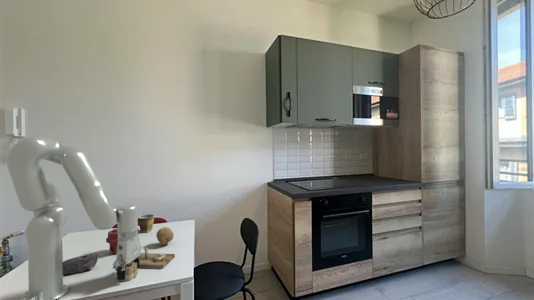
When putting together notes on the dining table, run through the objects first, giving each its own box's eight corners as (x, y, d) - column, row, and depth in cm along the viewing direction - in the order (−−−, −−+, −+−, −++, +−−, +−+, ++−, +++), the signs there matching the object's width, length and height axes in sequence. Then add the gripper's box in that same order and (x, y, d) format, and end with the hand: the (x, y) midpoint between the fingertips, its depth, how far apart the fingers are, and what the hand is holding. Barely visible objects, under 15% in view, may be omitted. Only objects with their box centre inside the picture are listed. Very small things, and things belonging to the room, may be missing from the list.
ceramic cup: (157, 230, 164) (157, 215, 164) (143, 234, 155) (143, 219, 155) (146, 227, 170) (146, 213, 170) (132, 231, 162) (132, 216, 162)
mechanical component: (132, 248, 134) (117, 257, 124) (116, 247, 136) (101, 255, 126) (132, 226, 133) (117, 233, 124) (116, 225, 135) (101, 231, 126)
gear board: (163, 268, 111) (163, 253, 111) (115, 267, 113) (115, 252, 113) (174, 256, 123) (174, 243, 123) (131, 255, 125) (131, 242, 125)
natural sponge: (171, 240, 145) (171, 224, 145) (175, 245, 138) (175, 228, 138) (155, 243, 141) (155, 226, 140) (157, 249, 133) (157, 231, 133)
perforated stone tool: (53, 278, 103) (53, 262, 103) (58, 273, 108) (58, 257, 108) (95, 271, 110) (95, 256, 110) (98, 266, 114) (98, 251, 114)
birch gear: (130, 281, 101) (130, 269, 101) (115, 281, 101) (115, 269, 101) (140, 273, 107) (140, 262, 107) (125, 272, 108) (125, 261, 108)
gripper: (123, 242, 95) (124, 285, 95) (147, 227, 113) (148, 263, 113) (104, 241, 96) (105, 284, 96) (132, 227, 113) (132, 263, 113)
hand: (128, 273), depth 104 cm, fingers open, 9 cm apart
